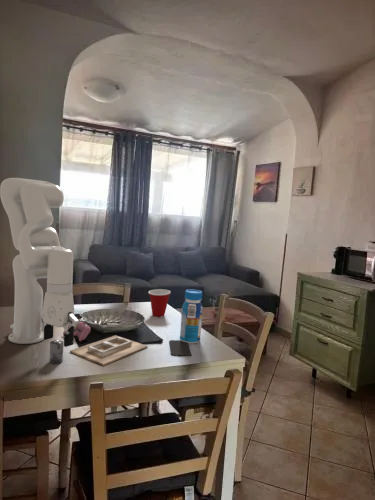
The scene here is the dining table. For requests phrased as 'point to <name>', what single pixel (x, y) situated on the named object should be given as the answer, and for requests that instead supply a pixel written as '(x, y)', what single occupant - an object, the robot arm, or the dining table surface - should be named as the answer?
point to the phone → (179, 348)
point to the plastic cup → (159, 301)
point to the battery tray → (108, 350)
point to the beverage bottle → (191, 317)
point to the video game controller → (83, 333)
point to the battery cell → (56, 352)
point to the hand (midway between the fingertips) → (58, 342)
